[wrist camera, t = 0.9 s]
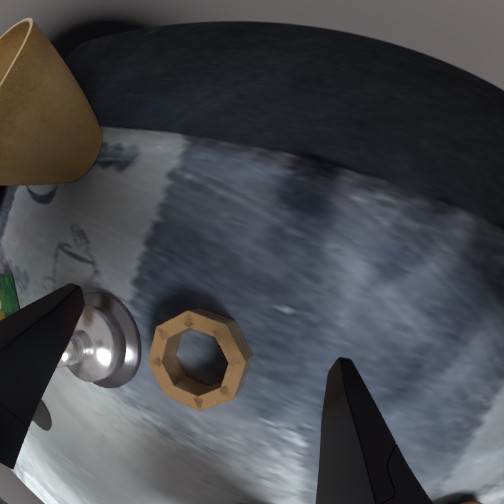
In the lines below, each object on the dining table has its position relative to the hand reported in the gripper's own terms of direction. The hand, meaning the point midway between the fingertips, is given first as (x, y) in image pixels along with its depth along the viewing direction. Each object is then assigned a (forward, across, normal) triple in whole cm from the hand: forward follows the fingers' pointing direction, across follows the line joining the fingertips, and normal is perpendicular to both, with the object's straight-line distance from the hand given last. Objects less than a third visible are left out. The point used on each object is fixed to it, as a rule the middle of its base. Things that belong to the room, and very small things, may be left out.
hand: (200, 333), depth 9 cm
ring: (+7, +1, +12) cm, 14 cm away
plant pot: (+20, +21, +3) cm, 29 cm away
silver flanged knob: (+7, +11, +15) cm, 20 cm away
